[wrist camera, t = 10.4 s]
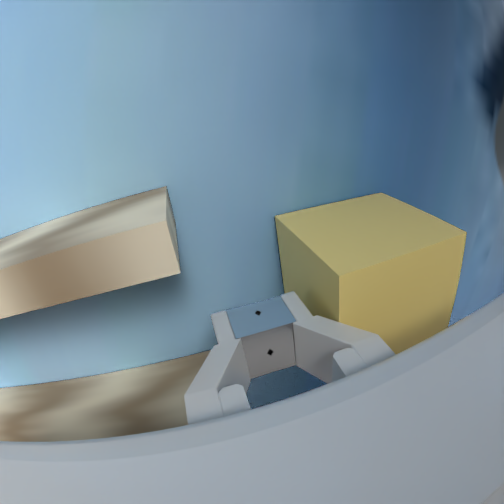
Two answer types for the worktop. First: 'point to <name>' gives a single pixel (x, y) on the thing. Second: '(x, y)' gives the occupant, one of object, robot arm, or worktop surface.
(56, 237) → the u-shaped frame
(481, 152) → the worktop surface
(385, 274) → the block
